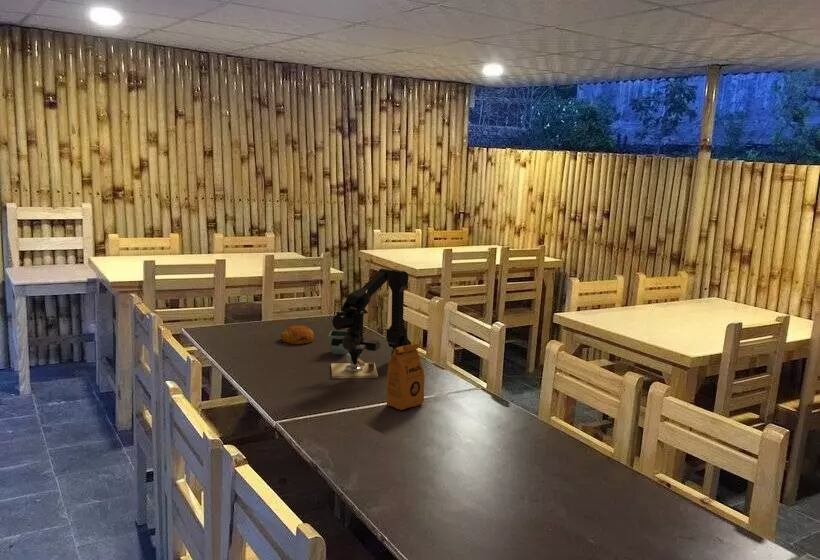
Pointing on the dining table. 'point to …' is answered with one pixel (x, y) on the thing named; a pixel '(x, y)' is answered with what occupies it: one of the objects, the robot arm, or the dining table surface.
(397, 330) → the robot arm
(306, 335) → the croissant
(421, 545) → the dining table surface
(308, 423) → the dining table surface
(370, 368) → the block
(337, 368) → the board
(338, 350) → the flower pot
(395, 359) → the coffee package
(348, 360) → the cap
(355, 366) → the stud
